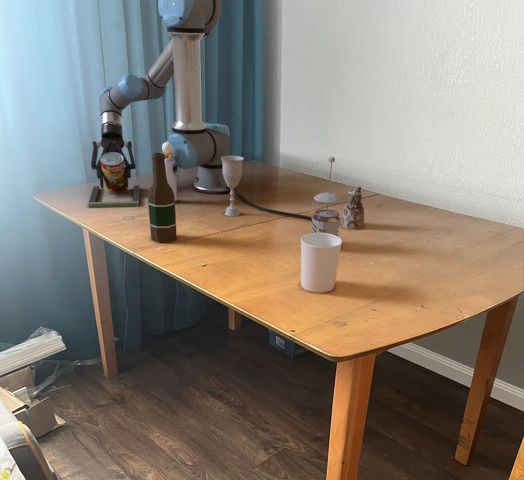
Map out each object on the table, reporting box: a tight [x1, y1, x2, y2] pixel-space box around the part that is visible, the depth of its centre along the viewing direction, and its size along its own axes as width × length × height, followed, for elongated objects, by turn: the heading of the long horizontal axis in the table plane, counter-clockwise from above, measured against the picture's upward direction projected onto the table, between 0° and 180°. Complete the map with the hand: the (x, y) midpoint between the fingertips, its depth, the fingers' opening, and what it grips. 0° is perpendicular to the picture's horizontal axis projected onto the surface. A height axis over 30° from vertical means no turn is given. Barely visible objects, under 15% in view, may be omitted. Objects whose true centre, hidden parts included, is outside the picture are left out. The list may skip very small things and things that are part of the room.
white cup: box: [300, 232, 343, 294], centre depth 133 cm, size 10×10×12 cm
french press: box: [310, 156, 343, 237], centre depth 154 cm, size 10×12×25 cm
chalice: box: [221, 155, 244, 217], centre depth 178 cm, size 7×7×18 cm
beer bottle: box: [147, 152, 177, 244], centre depth 155 cm, size 8×8×24 cm
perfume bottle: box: [161, 141, 178, 202], centre depth 187 cm, size 6×6×20 cm
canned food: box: [99, 152, 128, 195], centre depth 196 cm, size 8×8×12 cm
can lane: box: [88, 184, 141, 208], centre depth 194 cm, size 22×16×1 cm
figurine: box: [340, 186, 365, 230], centre depth 173 cm, size 7×7×12 cm
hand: (114, 185), depth 194 cm, fingers closed on canned food, 8 cm apart
